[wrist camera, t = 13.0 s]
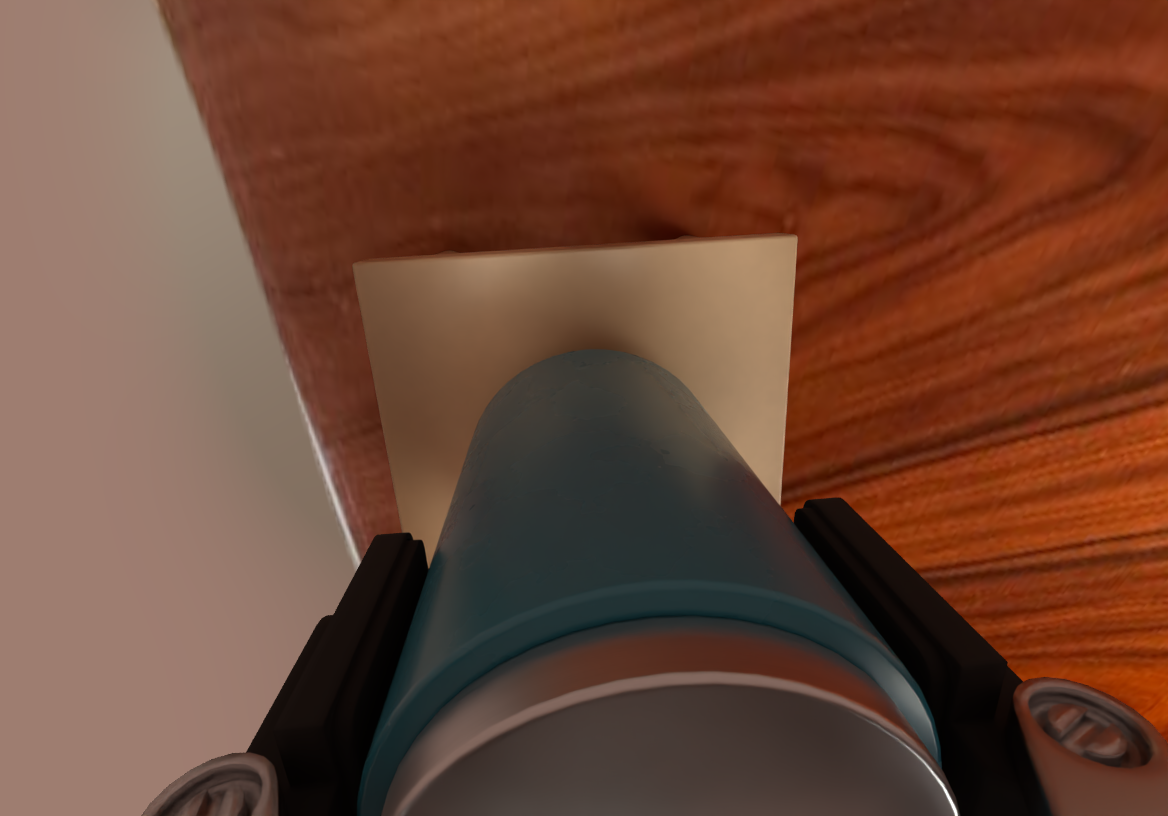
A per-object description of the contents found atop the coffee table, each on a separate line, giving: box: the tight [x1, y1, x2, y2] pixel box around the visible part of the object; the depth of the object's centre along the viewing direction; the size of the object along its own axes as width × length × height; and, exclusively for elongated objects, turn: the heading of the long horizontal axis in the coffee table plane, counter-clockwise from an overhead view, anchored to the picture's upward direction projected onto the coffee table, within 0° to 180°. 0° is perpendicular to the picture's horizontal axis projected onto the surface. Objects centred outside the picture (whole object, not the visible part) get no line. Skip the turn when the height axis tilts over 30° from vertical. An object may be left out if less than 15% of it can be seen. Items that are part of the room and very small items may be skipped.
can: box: [357, 349, 960, 816], centre depth 10 cm, size 6×6×10 cm
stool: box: [352, 233, 798, 569], centre depth 20 cm, size 11×11×8 cm
